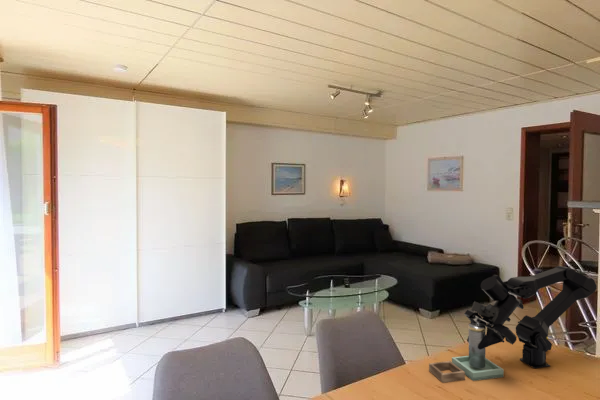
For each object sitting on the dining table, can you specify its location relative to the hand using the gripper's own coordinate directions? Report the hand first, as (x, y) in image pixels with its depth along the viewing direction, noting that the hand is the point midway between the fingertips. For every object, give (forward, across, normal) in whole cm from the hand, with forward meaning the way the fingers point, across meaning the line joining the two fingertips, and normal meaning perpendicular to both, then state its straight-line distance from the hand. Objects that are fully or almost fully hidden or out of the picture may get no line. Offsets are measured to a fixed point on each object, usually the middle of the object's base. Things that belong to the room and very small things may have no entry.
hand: (473, 345), depth 120 cm
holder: (+13, 0, -1) cm, 13 cm away
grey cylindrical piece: (+4, 0, +6) cm, 7 cm away
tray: (+5, 0, +7) cm, 9 cm away
